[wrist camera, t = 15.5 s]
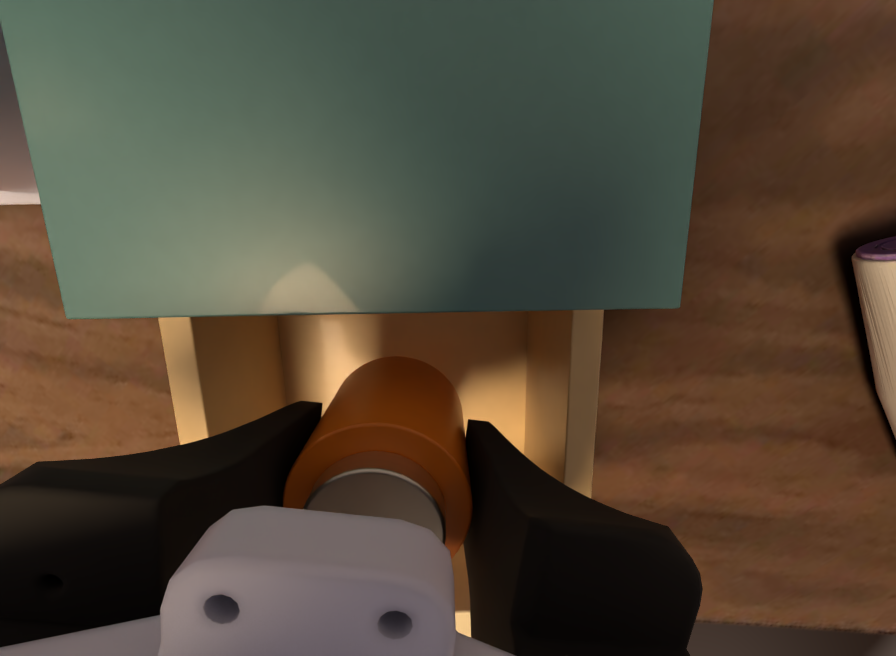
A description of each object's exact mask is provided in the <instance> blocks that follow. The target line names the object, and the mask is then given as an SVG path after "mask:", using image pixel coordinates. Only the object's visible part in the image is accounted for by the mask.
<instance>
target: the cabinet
mask: <svg viewBox="0 0 896 656" xmlns="http://www.w3.org/2000/svg"><path fill="white" fill-rule="evenodd" d="M713 2H714V0H0V23H1V27H2V32H3V36H4V41H5V45H6V50H7V54H8V59H9V63H10V68H11V72H12V77H13V81H14V86H15V90H16V95H17V99H18V104H19V108H20V113H21V117H22V122H23V126H24V130H25V135H26V139H27V144H28V148H29V153H30V157H31V162H32V166H33V171H34V175H35V180H36V184H37V189H38V193H39V198H40V202H41V207H42V211H43V216H44V220H45V225H46V229H47V234H48V238H49V243H50V247H51V252H52V256H53V261H54V265H55V270H56V274H57V279H58V283H59V288H60V292H61V297H62V301H63V306H64V310H65V315H66V318H67V319H111V318H167V317H223V316H279V315H334V314H390V313H446V312H501V311H557V310H613V309H669V308H679V307H680V303H681V294H682V285H683V276H684V266H685V257H686V248H687V239H688V230H689V221H690V212H691V203H692V194H693V185H694V175H695V166H696V157H697V148H698V139H699V130H700V121H701V112H702V103H703V93H704V84H705V75H706V66H707V57H708V48H709V39H710V30H711V21H712V12H713Z"/></svg>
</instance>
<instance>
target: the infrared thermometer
mask: <svg viewBox="0 0 896 656" xmlns="http://www.w3.org/2000/svg"><path fill="white" fill-rule="evenodd" d="M852 264H853V269H854V274H855V279H856V284H857V289H858V294H859V300H860V305H861V310H862V315H863V321H864V326H865V331H866V336H867V341H868V347H869V352H870V358H871V363H872V369H873V375H874V380H875V386H876V391H877V394H878V396H879V399H880V401H881V404H882V406H883V409H884V411H885V414H886V416H887V419H888V421H889V424H890V426H891V429H892V431H893V434H894V436H895V439H896V236H894V237H890V238H885V239H881V240H877V241H874V242H871V243H868V244H865V245H863V246H861V247H859V248H858V249H856V253H854V254H853V256H852Z"/></svg>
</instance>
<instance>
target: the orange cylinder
mask: <svg viewBox="0 0 896 656" xmlns="http://www.w3.org/2000/svg"><path fill="white" fill-rule="evenodd" d="M283 507H284V508H294V509H304V510H314V511H323V512H333V513H343V514H353V515H363V516H373V517H383V518H392V519H401V520H404V521H407V522H410V523H413V524H416V525H419V526H422V527H424V528H427V529H430V530H431V531H432V532H433V533H434V534H435V535H436V536H437V537H438V538H439V539H440V541H441V542H442V543H443V544H444V545H445V546H446V547H447V548H448V549H449V550H450V555H451V559H452V558H453V557H454V556H455V554H456V553H457V552H458V550H459V549H460V547H461V545H462V544H463V542H464V540H465V538H466V536H467V533H468V531H469V528H470V524H471V520H472V510H473V505H472V493H471V484H470V475H469V465H468V456H467V447H466V438H465V429H464V420H463V411H462V406H461V402H460V399H459V396H458V394H457V392H456V390H455V388H454V386H453V385H452V384H451V382H450V381H449V380H448V379H447V378H446V376H445V375H444V374H442V373H441V372H440V371H439V370H438V369H436V368H434V367H433V366H431V365H430V364H428V363H425V362H423V361H421V360H417V359H414V358H409V357H403V356H390V357H383V358H378V359H375V360H372V361H370V362H367V363H365V364H363V365H362V366H360V367H359V368H357V369H356V370H354V371H353V372H352V373H351V374H350V375H349V376H348V377H347V378H346V379H345V380H344V382H343V383H342V385H341V386H340V388H339V389H338V391H337V393H336V394H335V396H334V398H333V399H332V401H331V403H330V404H329V406H328V408H327V409H326V411H325V413H324V414H323V416H322V418H321V419H320V421H319V423H318V424H317V426H316V428H315V429H314V431H313V433H312V434H311V436H310V438H309V439H308V441H307V443H306V444H305V446H304V448H303V449H302V451H301V453H300V454H299V456H298V458H297V459H296V461H295V463H294V464H293V466H292V468H291V470H290V472H289V474H288V477H287V479H286V483H285V487H284V493H283Z"/></svg>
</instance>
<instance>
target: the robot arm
mask: <svg viewBox="0 0 896 656" xmlns="http://www.w3.org/2000/svg"><path fill="white" fill-rule="evenodd" d="M28 204H41V202H40V198H39V193H38V189H37V184H36V180H35V175H34V171H33V166H32V162H31V157H30V153H29V148H28V144H27V139H26V135H25V130H24V126H23V122H22V117H21V113H20V108H19V104H18V99H17V95H16V90H15V86H14V81H13V77H12V72H11V68H10V63H9V59H8V54H7V50H6V45H5V41H4V36H3V32H2V27H1V23H0V205H28ZM321 417H322V403H319V402H310V401H298V402H295V403H292V404H290V405H288V406H285V407H283V408H281V409H279V410H277V411H274V412H272V413H270V414H268V415H265V416H263V417H261V418H259V419H257V420H254V421H252V422H249V423H247V424H244V425H242V426H239V427H237V428H234V429H232V430H229V431H227V432H224V433H221V434H218V435H215V436H212V437H208V438H205V439H201V440H198V441H195V442H191V443H187V444H183V445H178V446H173V447H169V448H164V449H159V450H154V451H149V452H143V453H137V454H130V455H123V456H114V457H106V458H95V459H81V460H64V461H43V462H36V463H35V464H33V465H31V466H30V467H28V468H26V469H25V470H23V471H22V472H20V473H18V474H17V475H15V476H13V477H12V478H10V479H9V480H7V481H5V482H4V483H2V484H0V656H690V654H689V653H688V651H687V649H686V648H687V645H688V642H689V639H690V635H691V632H692V629H693V626H694V623H695V620H696V616H697V613H698V610H699V607H700V602H701V596H702V583H701V577H700V573H699V571H698V569H697V567H696V565H695V563H694V561H693V559H692V558H691V557H690V555H689V554H688V553H687V551H686V550H685V548H684V547H683V546H682V544H681V543H680V542H679V540H678V539H677V538H676V536H675V535H674V534H673V532H672V531H671V530H670V528H669V527H667V526H664V525H661V524H658V523H655V522H651V521H648V520H645V519H642V518H639V517H635V516H632V515H629V514H626V513H624V512H621V511H619V510H616V509H614V508H611V507H609V506H606V505H604V504H602V503H599V502H597V501H595V500H593V499H591V498H589V497H587V496H585V495H583V494H581V493H579V492H577V491H575V490H573V489H572V488H570V487H568V486H566V485H565V484H563V483H561V482H560V481H558V480H557V479H555V478H554V477H552V476H551V475H549V474H548V473H546V472H545V471H543V470H542V469H541V468H539V467H538V466H537V465H536V464H534V463H533V462H532V461H531V460H529V459H528V458H527V457H526V456H525V455H524V454H522V453H521V452H520V451H519V450H518V449H517V448H516V447H515V446H514V445H513V444H512V443H511V442H510V441H509V440H507V439H506V438H505V437H504V436H503V435H502V433H501V432H500V431H499V430H498V429H497V428H496V427H495V426H494V425H492V424H491V423H490V422H489V421H480V420H471V419H468V424H467V430H466V437H465V438H466V447H467V456H468V465H469V475H470V484H471V493H472V505H473V510H472V520H471V524H470V528H469V531H468V533H467V536H466V538H465V540H464V542H463V546H464V553H465V560H466V567H467V574H468V583H469V593H470V620H471V637H469V636H466V635H464V634H461V633H459V632H458V631H457V630H456V621H455V593H454V574H453V568H452V561H451V555H450V550H449V549H448V548H447V547H446V546H445V545H444V544H443V543H442V542H441V541H440V539H439V538H438V537H437V536H436V535H435V534H434V533H433V532H432V531H431V530H430V529H427V528H424V527H422V526H419V525H416V524H413V523H410V522H407V521H404V520H401V519H392V518H383V517H373V516H363V515H353V514H343V513H333V512H323V511H314V510H304V509H294V508H284V507H283V493H284V487H285V483H286V479H287V477H288V474H289V472H290V470H291V468H292V466H293V464H294V463H295V461H296V459H297V458H298V456H299V454H300V453H301V451H302V449H303V448H304V446H305V444H306V443H307V441H308V439H309V438H310V436H311V434H312V433H313V431H314V429H315V428H316V426H317V424H318V423H319V421H320V419H321Z"/></svg>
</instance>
